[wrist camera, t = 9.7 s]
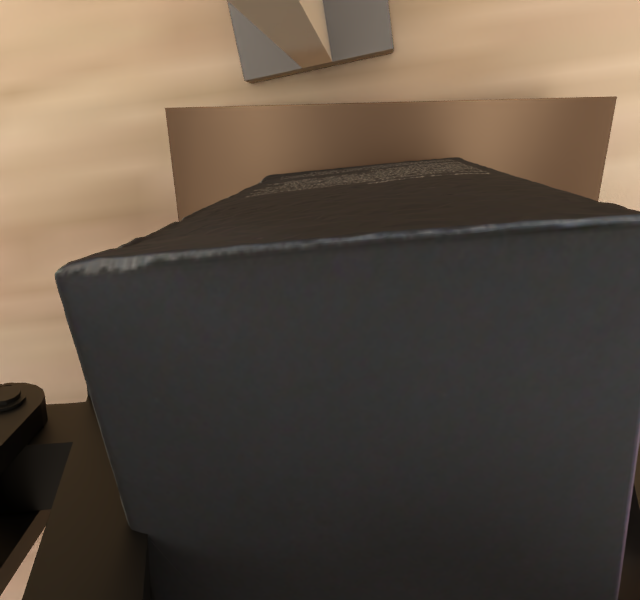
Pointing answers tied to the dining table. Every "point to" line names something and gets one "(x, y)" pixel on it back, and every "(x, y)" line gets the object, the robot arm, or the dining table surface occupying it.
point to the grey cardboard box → (307, 34)
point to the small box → (372, 387)
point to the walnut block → (387, 141)
